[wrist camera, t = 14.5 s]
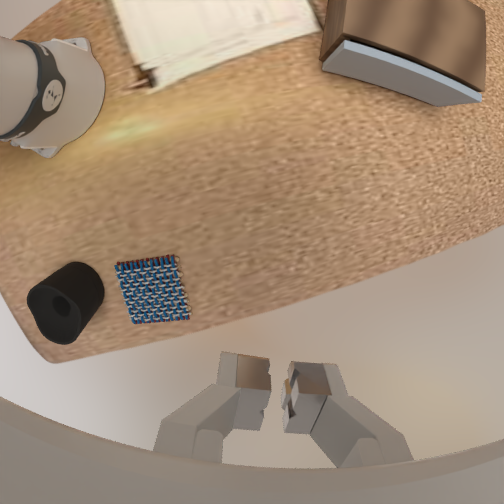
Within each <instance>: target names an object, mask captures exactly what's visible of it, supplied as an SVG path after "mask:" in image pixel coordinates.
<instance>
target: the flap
mask: <svg viewBox="0 0 504 504" xmlns="http://www.w3.org/2000/svg"><path fill="white" fill-rule="evenodd" d="M322 70H323V71H328V72H332V73H336V74H340V75H344V76H347V77H351V78H355V79H358V80H362V81H365V82H369V83H372V84H375V85H378V86H382V87H385V88H388V89H391V90H394V91H397V92H400V93H403V94H405V95H408V96H411V97H414V98H416V99H419V100H422V101H424V102H427V103H429V104H432V105H434V106H437V107H440V106H449V105H458V104H467V103H478V102H481V100H482V94H480V93H478V92H476V91H474V90H472V89H470V88H468V87H466V86H464V85H462V84H460V83H458V82H456V81H454V80H452V79H450V78H448V77H446V76H443V75H441V74H439V73H437V72H434V71H432V70H430V69H427V68H425V67H423V66H420V65H418V64H415V63H413V62H410V61H408V60H405V59H402V58H400V57H397V56H394V55H391V54H388V53H386V52H383V51H380V50H377V49H373V48H370V47H367V46H364V45H361V44H357V43H354V42H350V41H347V40H344V41H343V42H342V43H341V44H340V46H339V47H338V48H337V49H336V50H335V51H334V52H333V53H332V54H331V55H330V56H329V57H328V58H327V59H326V61H325V62H324V63H323V66H322Z"/></svg>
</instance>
